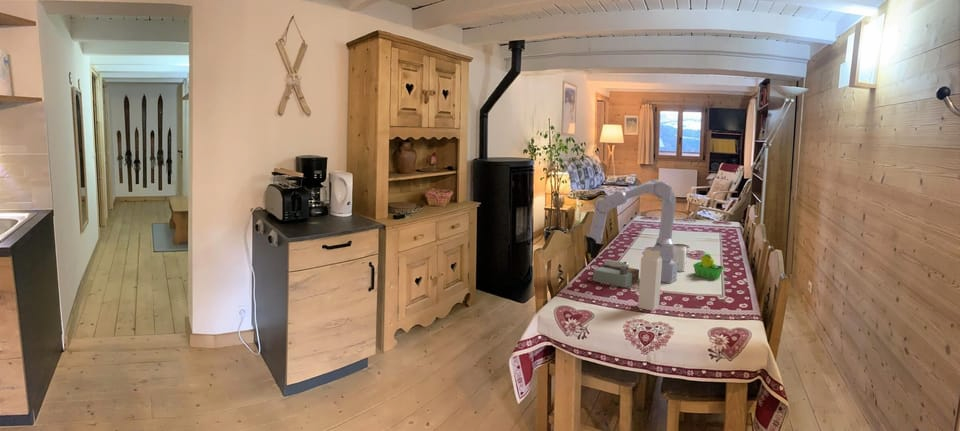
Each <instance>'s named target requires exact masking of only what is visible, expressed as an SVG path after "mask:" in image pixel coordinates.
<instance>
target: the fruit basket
mask: <svg viewBox="0 0 960 431" xmlns="http://www.w3.org/2000/svg"><path fill="white" fill-rule="evenodd" d="M714 262H715V260H714V258H713V257H712V256H711V255H710V254H709V253H704V254H702V257H701V259H700V261H698V262H696V263H694V264H693V263H692V264H693V265H692V266H693V268H694V275H695V276H697V277H701V278H705V279H710V280H717V279H720V277H721V275H722V272H723V270H724V268H725V267H724V266H722V265H718V264H716V263H714Z"/></svg>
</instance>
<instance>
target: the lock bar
mask: <svg viewBox="0 0 960 431" xmlns="http://www.w3.org/2000/svg"><path fill="white" fill-rule="evenodd" d="M629 264H630V263H629V262H627V261H618V260H614V259H613V260H612V259H608V258H607V259H604V261H603V265H609V266H615V267H620V268H623V267H626V268H630V267H629V266H630V265H629Z"/></svg>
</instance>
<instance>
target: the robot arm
mask: <svg viewBox="0 0 960 431" xmlns="http://www.w3.org/2000/svg"><path fill="white" fill-rule="evenodd" d="M644 194H648V195H649V194H651V195H655V196H657V197H658V199H660V201H662V205H661V207H662V208H661V216H660V224H659V231H658V237H657V239H656V241H655V244H654V246H653V248H652V250H653V251H659V252H660V256H661V257H662V271H661V283H666V284H672V283H673V282H675V281H676V280H678V279H677V278H678V277H677V276H678V275H677V274H678V272H677V263H676V262H673V261H672V259H673V257H674V251H673V244H674V243H673V241H672V235H673V227H674V220H675V213H676V212H675V211H676V204H677V197H676V195H675V193H674V192H673V188H672V186H671V185H670V184H669V183H667V182H666V181H663V180H660V179H657V178H655V179H652V180H649V181H645V182H644V183H642V184H639V185H638V186H635V187H633V188H631V189H628V190H626V191H622V190H619V191H618V190H615V191H614V193H612V194H610V195H604V197H600V198H596V200H595V201H594V203H593V207H594V212H593V215H592V221H591V225H590V230H589V233H586V234H585V235H586V237H585V240H586V254H589V255H590V258H591V259H596V258H597V256H598V254H599V253H600V251H601V250H602V248H603V247H604V243H602V242H603V236H604V231H605V226H606V222H607V216H608V213H609V212H610V211H611V210H612V209H615V208H618V207H619V206H622V205H624V204H626V203H627V201H628V200H629V199H632V198H635V197H638V196H641V195H644Z"/></svg>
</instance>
